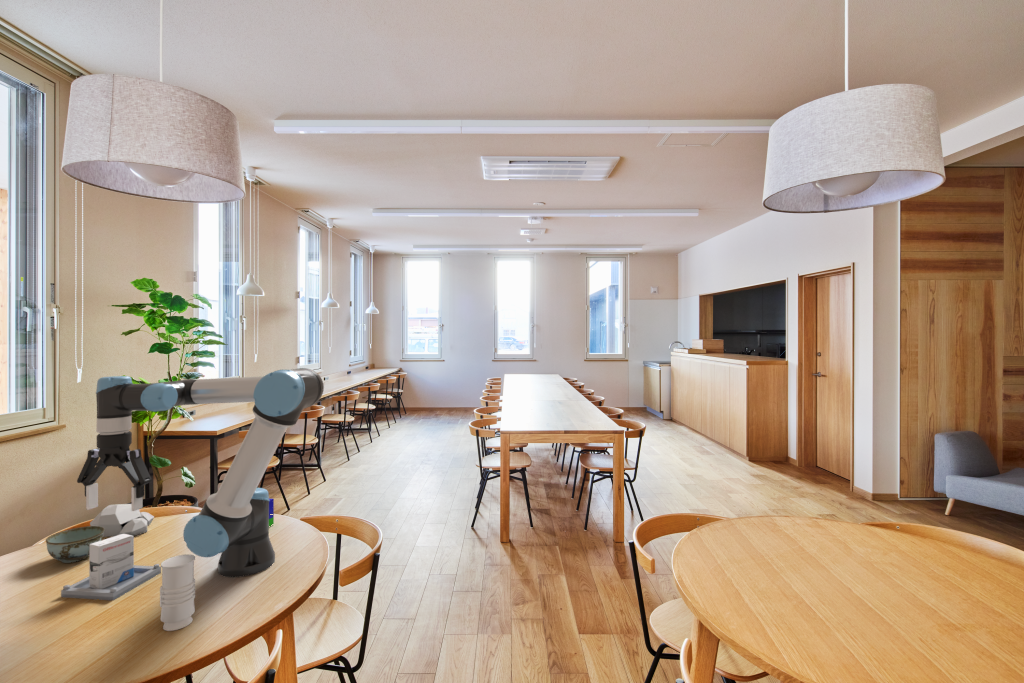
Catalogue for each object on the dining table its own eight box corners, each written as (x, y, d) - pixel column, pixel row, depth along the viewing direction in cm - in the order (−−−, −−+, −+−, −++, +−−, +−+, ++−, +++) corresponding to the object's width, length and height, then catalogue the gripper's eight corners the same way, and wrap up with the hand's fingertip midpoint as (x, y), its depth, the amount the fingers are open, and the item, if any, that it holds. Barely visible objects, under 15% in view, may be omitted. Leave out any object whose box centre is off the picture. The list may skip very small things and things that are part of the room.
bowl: (32, 567, 143) (33, 540, 143) (82, 548, 156) (82, 523, 156) (67, 572, 140) (67, 545, 140) (115, 552, 153) (115, 527, 153)
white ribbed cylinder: (157, 623, 115) (157, 560, 115) (191, 611, 120) (192, 551, 120) (162, 635, 110) (162, 570, 110) (198, 623, 115) (198, 560, 115)
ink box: (123, 573, 138) (124, 532, 138) (134, 576, 136) (134, 534, 136) (88, 587, 130) (88, 543, 130) (98, 591, 128) (99, 546, 128)
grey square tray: (160, 573, 140) (160, 563, 140) (113, 600, 125) (113, 590, 125) (113, 571, 141) (113, 561, 141) (61, 597, 126) (61, 587, 126)
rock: (154, 518, 184) (154, 493, 184) (154, 535, 168) (155, 507, 168) (91, 529, 173) (91, 502, 173) (85, 548, 157) (85, 519, 157)
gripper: (167, 430, 136) (167, 505, 135) (86, 429, 138) (86, 503, 138) (144, 435, 128) (144, 514, 128) (59, 434, 131) (59, 512, 130)
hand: (114, 508), depth 133 cm, fingers open, 13 cm apart
